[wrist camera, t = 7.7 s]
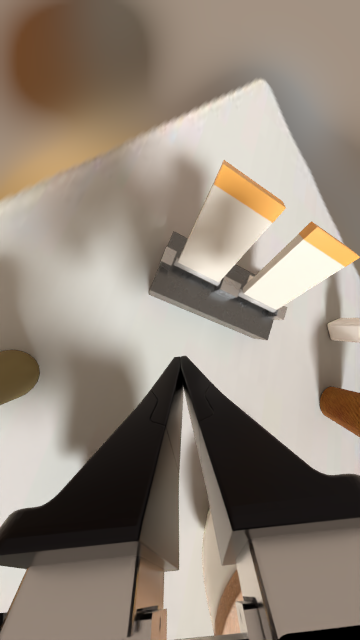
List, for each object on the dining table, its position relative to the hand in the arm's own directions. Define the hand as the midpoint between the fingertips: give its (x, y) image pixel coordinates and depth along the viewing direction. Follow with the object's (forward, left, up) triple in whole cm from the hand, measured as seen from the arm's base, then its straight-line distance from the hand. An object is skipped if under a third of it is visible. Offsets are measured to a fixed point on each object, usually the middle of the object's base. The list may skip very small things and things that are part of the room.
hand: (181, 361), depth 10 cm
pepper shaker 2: (-2, -37, -13) cm, 40 cm away
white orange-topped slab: (+5, -14, -8) cm, 17 cm away
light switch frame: (+7, -10, -13) cm, 17 cm away
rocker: (+9, -5, -8) cm, 13 cm away
